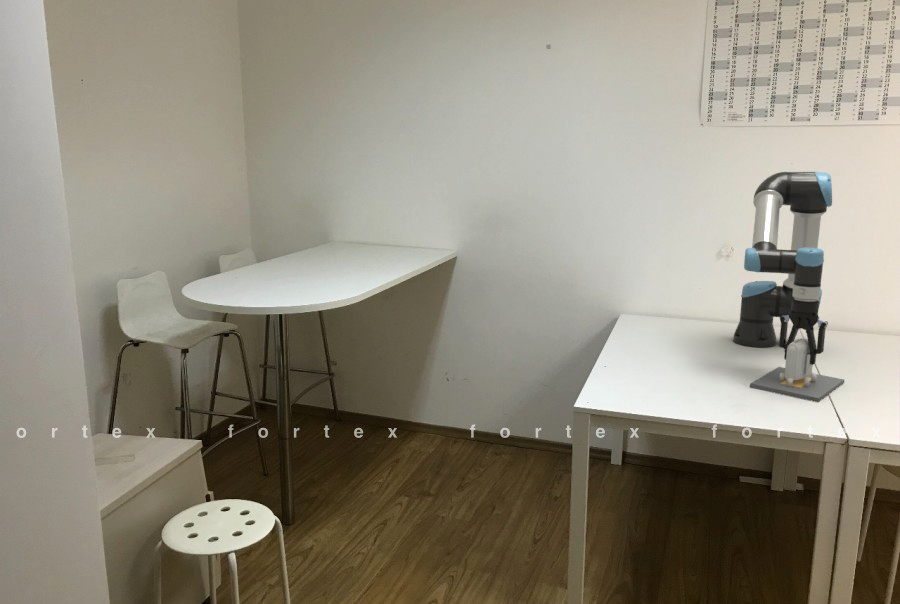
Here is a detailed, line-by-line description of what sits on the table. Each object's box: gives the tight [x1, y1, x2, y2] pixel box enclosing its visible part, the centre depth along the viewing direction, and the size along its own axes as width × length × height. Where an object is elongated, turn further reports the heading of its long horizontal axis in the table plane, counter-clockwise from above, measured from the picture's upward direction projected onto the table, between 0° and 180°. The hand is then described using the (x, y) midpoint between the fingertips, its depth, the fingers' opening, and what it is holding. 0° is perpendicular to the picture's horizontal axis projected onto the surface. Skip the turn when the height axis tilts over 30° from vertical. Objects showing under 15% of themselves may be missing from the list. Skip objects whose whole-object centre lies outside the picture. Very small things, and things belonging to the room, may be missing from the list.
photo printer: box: [784, 337, 814, 381], centre depth 226 cm, size 10×4×12 cm, turn 124°
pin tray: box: [749, 366, 845, 403], centre depth 228 cm, size 20×24×4 cm
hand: (798, 372), depth 227 cm, fingers closed on photo printer, 5 cm apart
